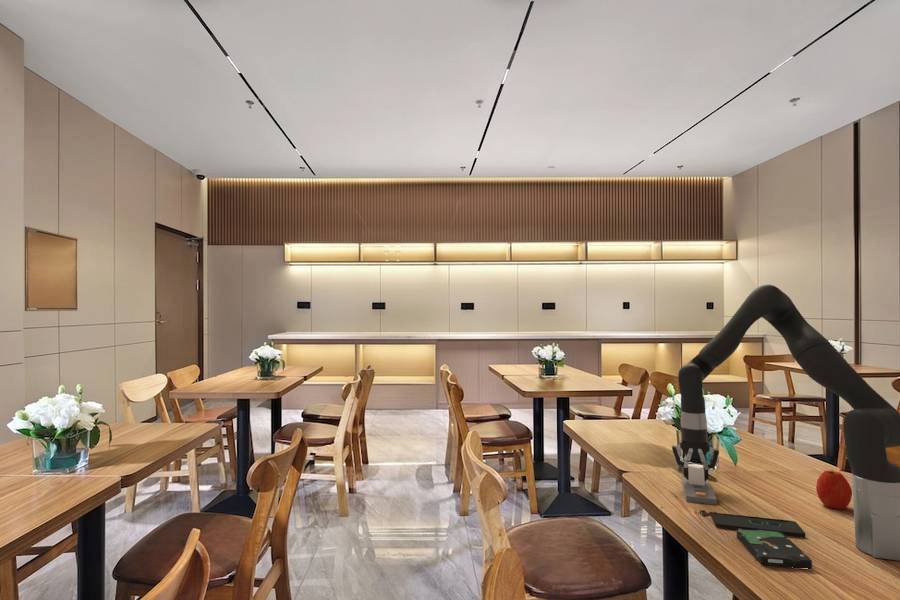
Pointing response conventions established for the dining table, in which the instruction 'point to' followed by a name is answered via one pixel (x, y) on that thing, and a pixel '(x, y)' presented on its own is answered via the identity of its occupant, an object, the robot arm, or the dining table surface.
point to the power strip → (699, 493)
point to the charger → (696, 474)
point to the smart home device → (757, 524)
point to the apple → (834, 490)
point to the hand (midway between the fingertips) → (696, 479)
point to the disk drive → (773, 549)
